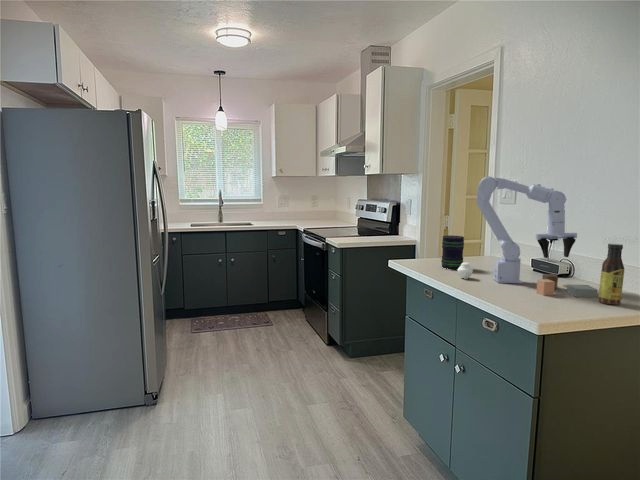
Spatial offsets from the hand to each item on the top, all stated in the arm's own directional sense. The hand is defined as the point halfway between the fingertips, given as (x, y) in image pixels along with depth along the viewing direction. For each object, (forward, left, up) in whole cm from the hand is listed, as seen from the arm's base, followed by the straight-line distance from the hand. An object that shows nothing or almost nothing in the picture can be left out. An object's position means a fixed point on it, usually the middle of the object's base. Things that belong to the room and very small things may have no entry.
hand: (556, 257), depth 164 cm
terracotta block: (-8, -15, -11) cm, 20 cm away
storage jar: (-34, +29, -11) cm, 46 cm away
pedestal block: (+5, -13, -12) cm, 18 cm away
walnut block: (-3, -5, -11) cm, 13 cm away
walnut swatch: (+6, -3, -11) cm, 13 cm away
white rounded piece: (-32, +7, -11) cm, 35 cm away
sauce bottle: (+9, -24, -11) cm, 28 cm away
